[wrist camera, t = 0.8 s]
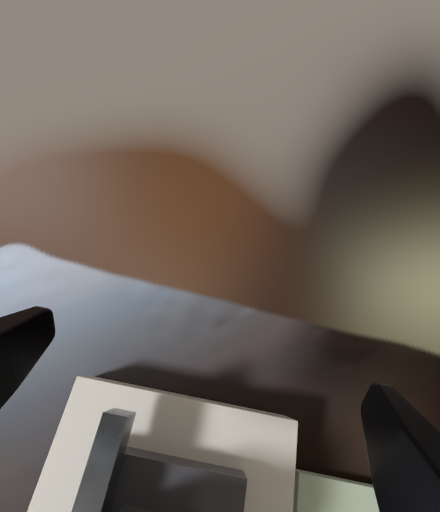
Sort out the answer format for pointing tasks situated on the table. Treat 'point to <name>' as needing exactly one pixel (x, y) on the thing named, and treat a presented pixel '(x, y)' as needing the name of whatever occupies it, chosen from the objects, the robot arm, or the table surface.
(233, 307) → the table surface
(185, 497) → the plug
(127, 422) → the bar
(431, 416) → the table surface
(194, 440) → the socket block
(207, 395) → the table surface
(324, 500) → the pad
